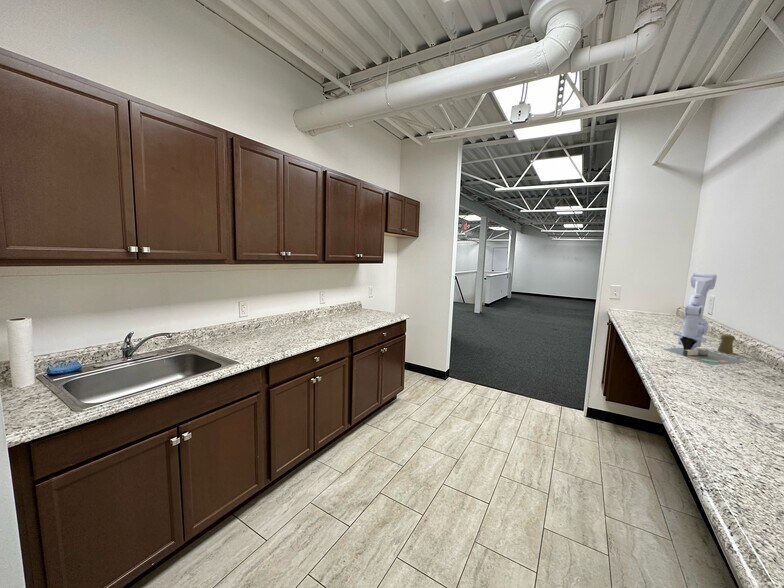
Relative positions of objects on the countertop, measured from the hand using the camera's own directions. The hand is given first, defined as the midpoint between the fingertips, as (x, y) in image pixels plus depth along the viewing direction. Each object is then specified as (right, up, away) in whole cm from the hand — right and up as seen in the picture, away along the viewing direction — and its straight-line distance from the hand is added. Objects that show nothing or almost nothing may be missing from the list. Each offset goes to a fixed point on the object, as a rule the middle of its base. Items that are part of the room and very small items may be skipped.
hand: (686, 351), depth 167 cm
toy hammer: (+1, -1, -3) cm, 3 cm away
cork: (+25, -2, +4) cm, 25 cm away
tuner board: (+6, -3, -3) cm, 7 cm away
